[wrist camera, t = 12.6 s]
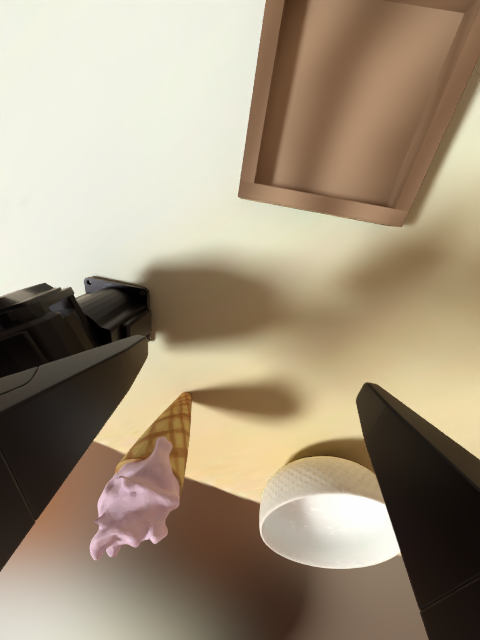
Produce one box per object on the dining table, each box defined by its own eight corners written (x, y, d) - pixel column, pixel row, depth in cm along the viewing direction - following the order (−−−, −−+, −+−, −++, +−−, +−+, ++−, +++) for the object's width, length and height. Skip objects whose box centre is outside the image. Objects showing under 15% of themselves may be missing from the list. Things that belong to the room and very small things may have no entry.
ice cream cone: (163, 369, 27) (55, 527, 13) (213, 378, 26) (157, 549, 13) (164, 409, 29) (78, 572, 16) (210, 417, 29) (161, 590, 16)
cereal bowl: (344, 517, 36) (361, 582, 29) (246, 488, 35) (242, 548, 29) (409, 455, 28) (450, 525, 22) (285, 418, 28) (291, 478, 22)
